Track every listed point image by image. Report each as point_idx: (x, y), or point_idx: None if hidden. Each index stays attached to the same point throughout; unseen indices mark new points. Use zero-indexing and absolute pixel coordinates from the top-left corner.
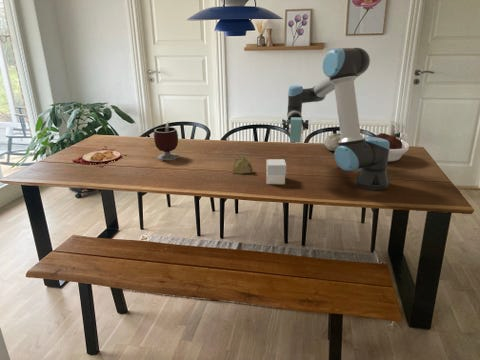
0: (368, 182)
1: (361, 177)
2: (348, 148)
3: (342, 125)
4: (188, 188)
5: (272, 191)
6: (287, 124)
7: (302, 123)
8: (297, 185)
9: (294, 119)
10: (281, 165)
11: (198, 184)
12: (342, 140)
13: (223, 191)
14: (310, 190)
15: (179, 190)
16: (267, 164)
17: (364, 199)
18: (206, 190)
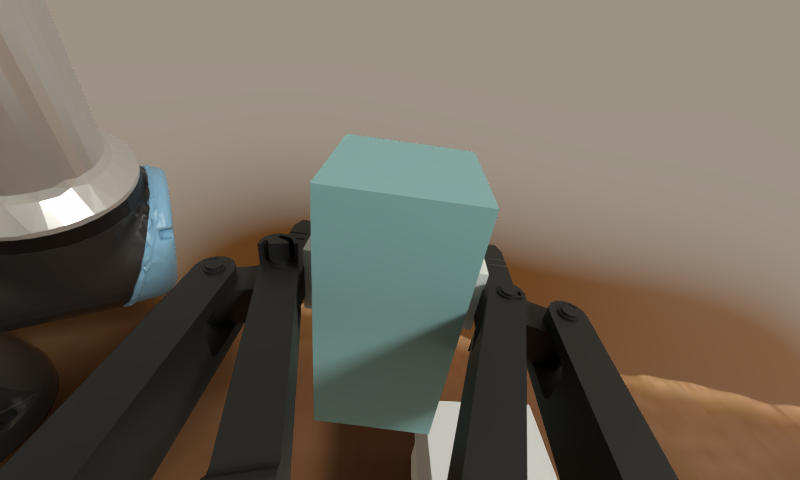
0: (32, 346)
1: (22, 368)
2: (146, 165)
3: (71, 65)
4: (784, 425)
5: (460, 377)
6: (510, 284)
7: (269, 310)
8: (350, 435)
9: (434, 149)
10: (450, 402)
11: (796, 470)
12: (126, 158)
13: (636, 389)
14: (309, 377)
15: (793, 408)
16: (534, 421)
17: (156, 299)
18: (702, 402)
